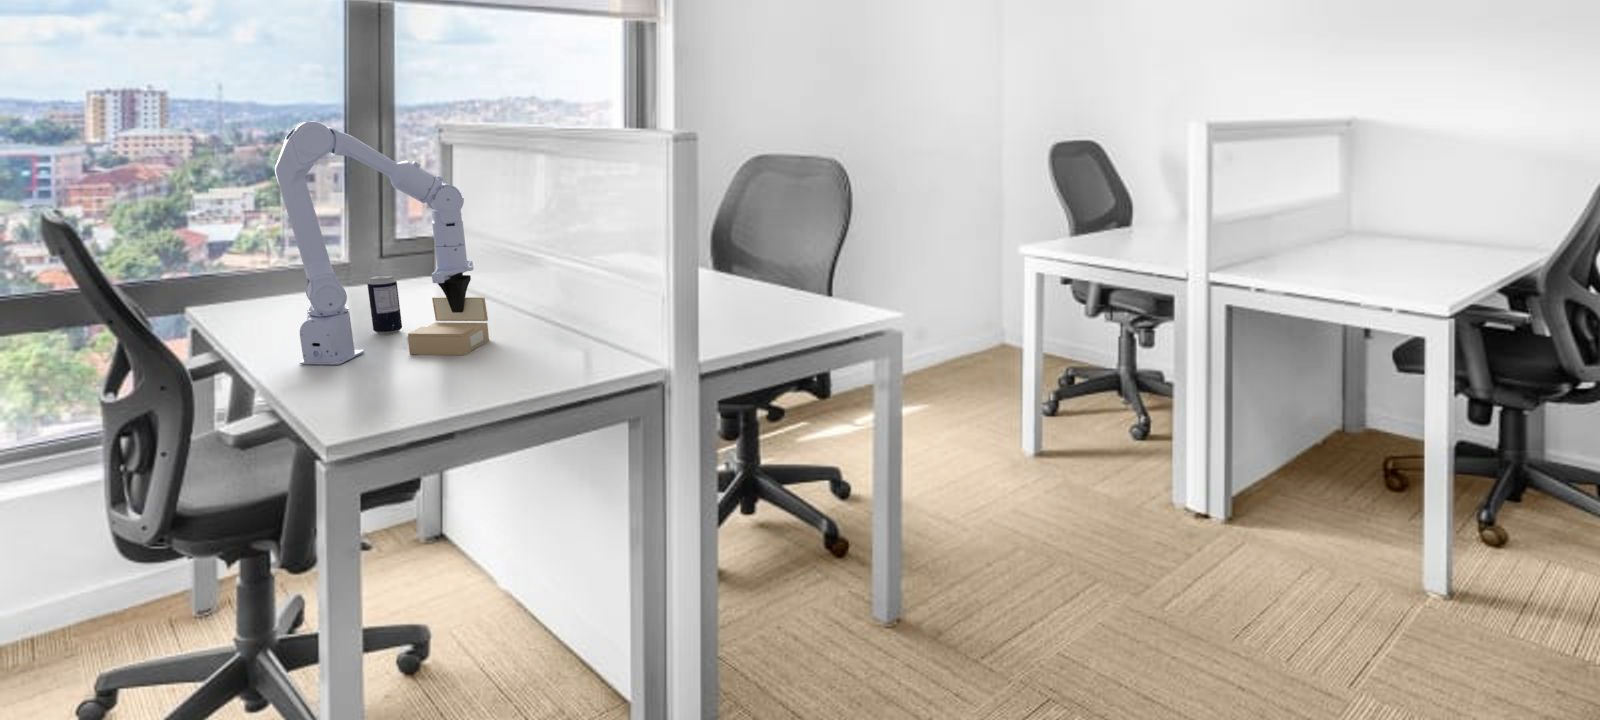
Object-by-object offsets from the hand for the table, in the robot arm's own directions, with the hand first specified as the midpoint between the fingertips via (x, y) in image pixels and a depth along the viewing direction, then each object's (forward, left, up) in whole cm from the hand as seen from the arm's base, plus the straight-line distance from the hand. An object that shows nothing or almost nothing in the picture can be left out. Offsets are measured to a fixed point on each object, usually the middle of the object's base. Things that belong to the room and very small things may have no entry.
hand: (457, 312), depth 203 cm
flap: (+1, 0, 0) cm, 1 cm away
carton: (-5, 0, -6) cm, 8 cm away
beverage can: (+7, +19, -6) cm, 22 cm away
